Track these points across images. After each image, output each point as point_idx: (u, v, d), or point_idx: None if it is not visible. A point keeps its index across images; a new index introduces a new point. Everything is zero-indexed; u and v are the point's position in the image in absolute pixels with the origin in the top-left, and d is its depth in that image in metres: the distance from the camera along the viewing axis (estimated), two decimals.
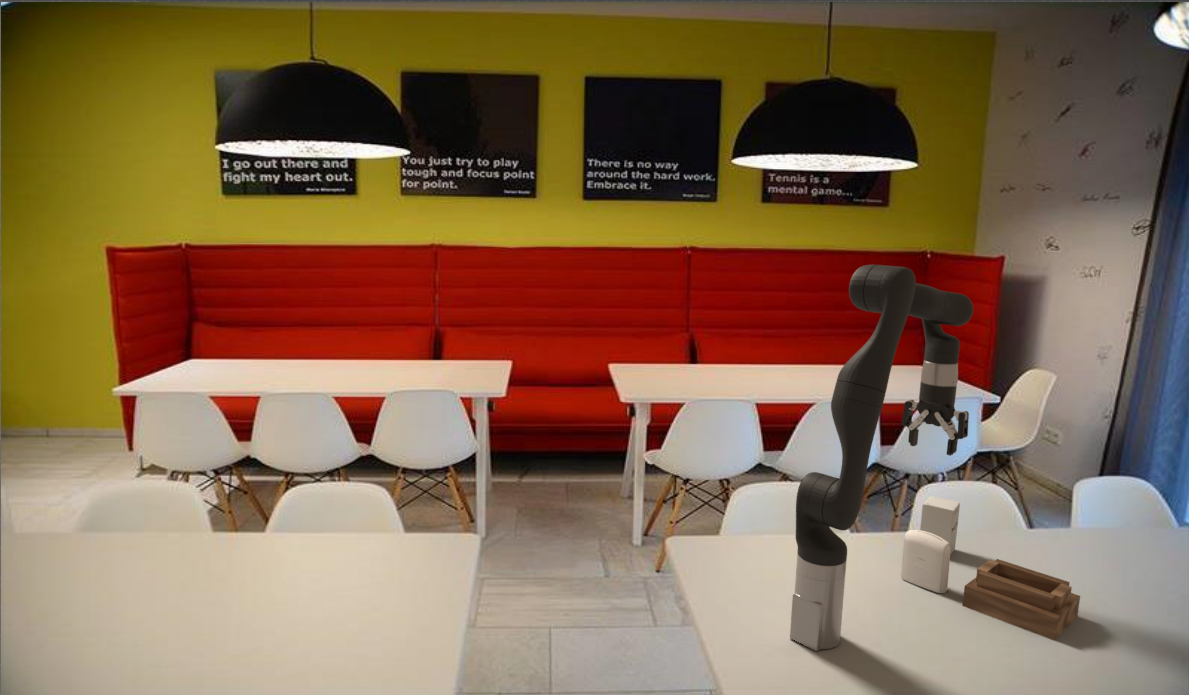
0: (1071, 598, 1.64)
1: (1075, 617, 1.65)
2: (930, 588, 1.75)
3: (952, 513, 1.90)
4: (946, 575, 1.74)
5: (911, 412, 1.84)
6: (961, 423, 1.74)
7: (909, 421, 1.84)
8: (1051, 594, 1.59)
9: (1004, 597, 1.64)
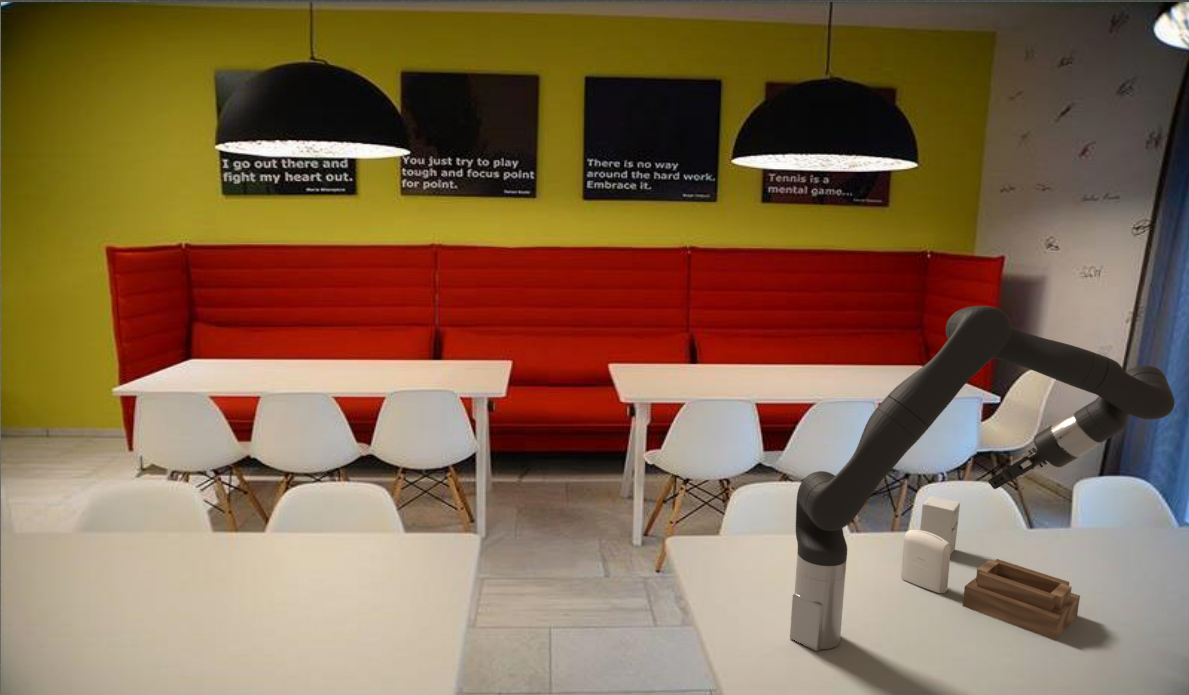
0: (1071, 598, 1.64)
1: (1075, 617, 1.65)
2: (930, 588, 1.75)
3: (952, 513, 1.90)
4: (946, 575, 1.74)
5: None
6: (1016, 462, 1.55)
7: None
8: (1051, 594, 1.59)
9: (1005, 597, 1.64)
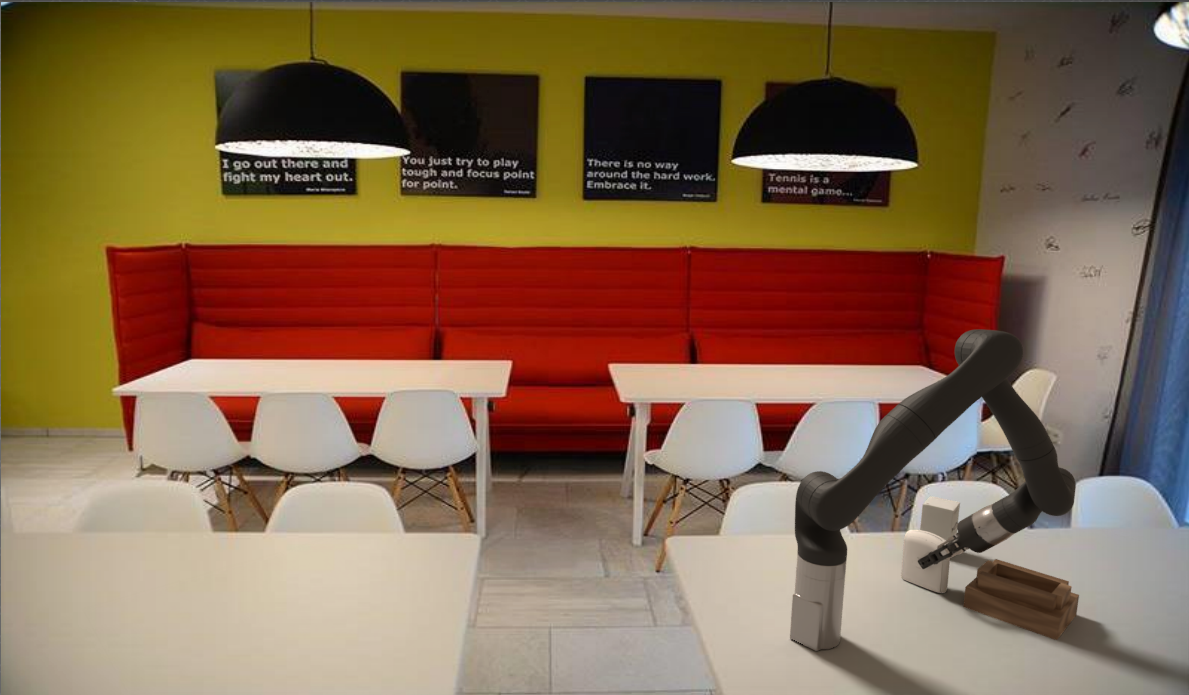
0: (1071, 597, 1.64)
1: (1074, 616, 1.65)
2: (930, 588, 1.75)
3: (952, 513, 1.90)
4: (946, 575, 1.74)
5: None
6: (937, 548, 1.69)
7: None
8: (1052, 594, 1.59)
9: (1006, 598, 1.64)
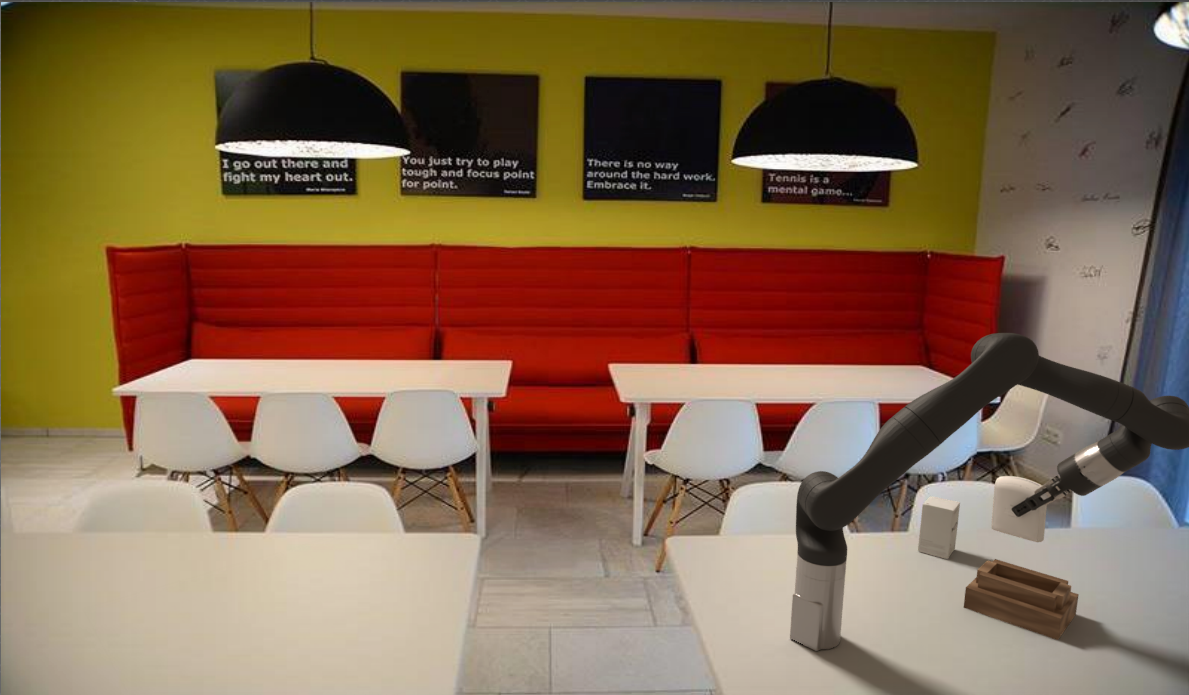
0: (1070, 597, 1.64)
1: (1074, 615, 1.66)
2: (1025, 537, 1.63)
3: (952, 513, 1.90)
4: (1044, 522, 1.62)
5: None
6: (1037, 493, 1.57)
7: None
8: (1053, 594, 1.59)
9: (1006, 598, 1.63)
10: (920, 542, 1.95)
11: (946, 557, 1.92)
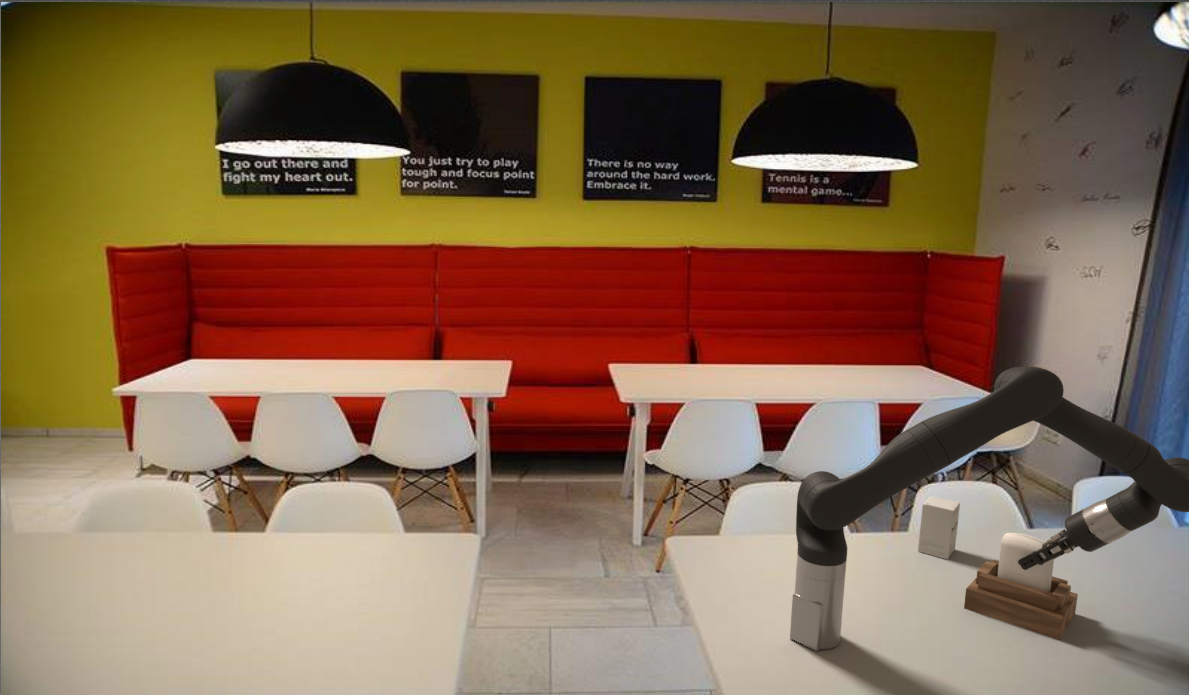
0: (1070, 597, 1.65)
1: (1073, 615, 1.66)
2: None
3: (952, 513, 1.90)
4: (1050, 581, 1.62)
5: None
6: (1046, 547, 1.56)
7: None
8: (1053, 594, 1.59)
9: (1007, 599, 1.63)
10: (920, 542, 1.95)
11: (946, 557, 1.92)
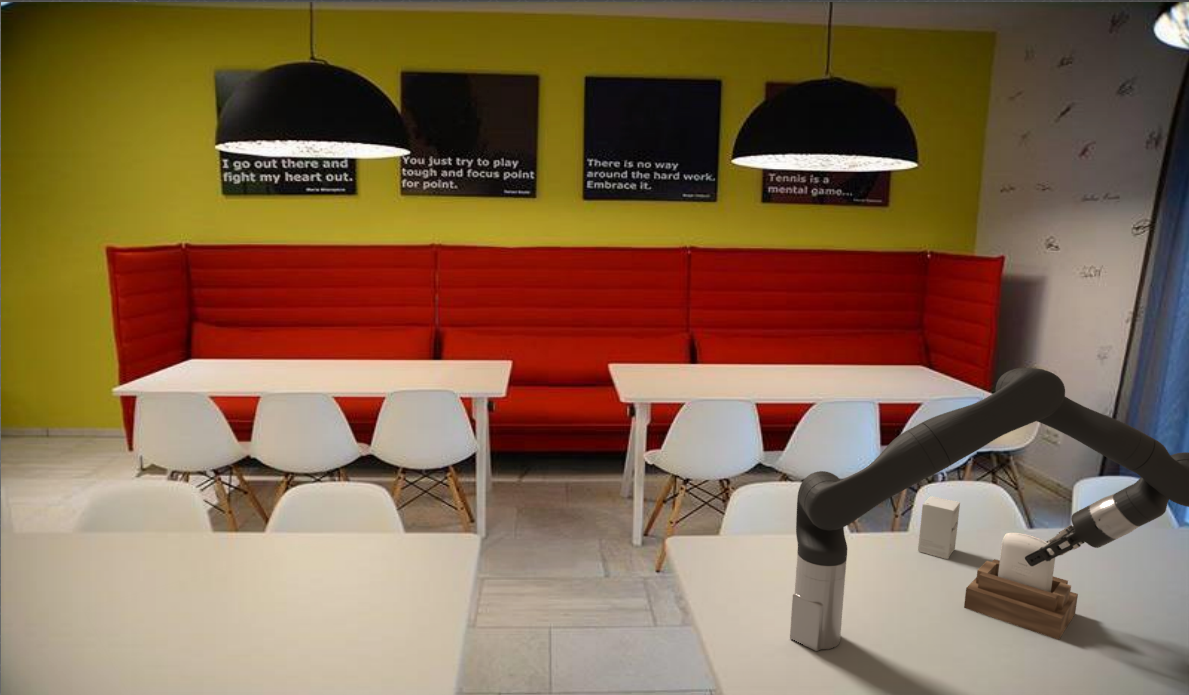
0: (1070, 596, 1.65)
1: (1073, 615, 1.66)
2: None
3: (952, 513, 1.90)
4: (1051, 581, 1.62)
5: None
6: (1054, 542, 1.55)
7: None
8: (1053, 594, 1.60)
9: (1007, 598, 1.63)
10: (920, 542, 1.95)
11: (946, 557, 1.92)
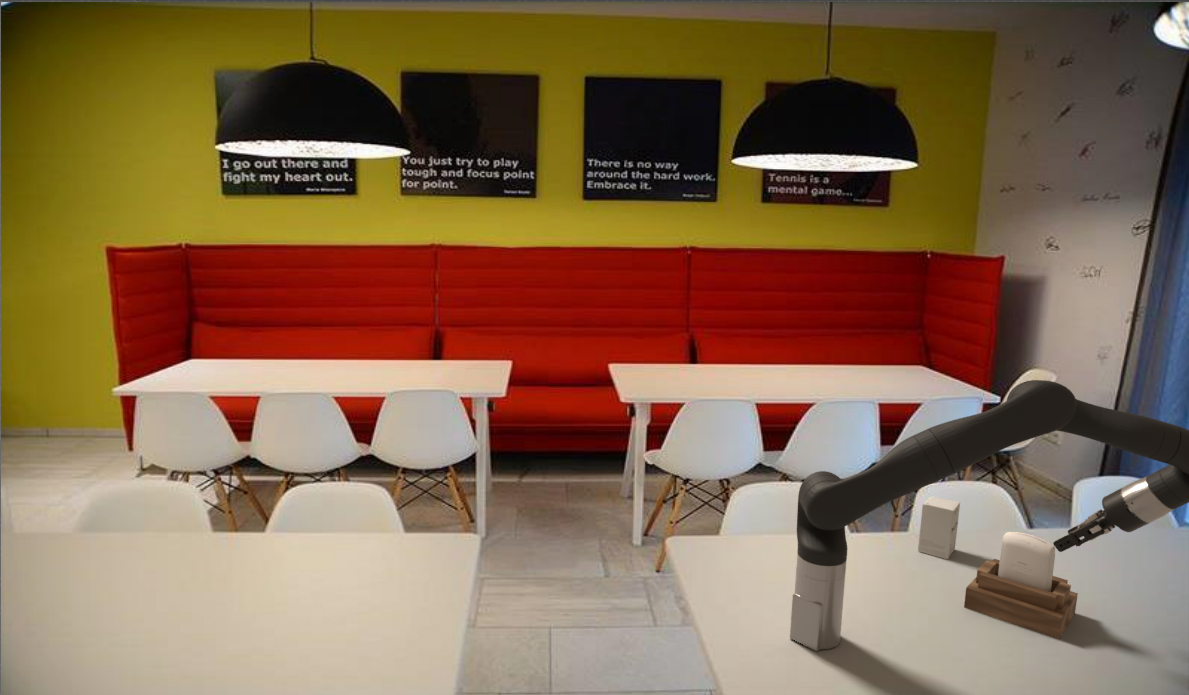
0: (1070, 596, 1.65)
1: (1073, 614, 1.66)
2: None
3: (952, 513, 1.90)
4: (1051, 580, 1.62)
5: None
6: (1084, 526, 1.51)
7: None
8: (1053, 593, 1.60)
9: (1007, 598, 1.64)
10: (920, 542, 1.95)
11: (946, 557, 1.92)
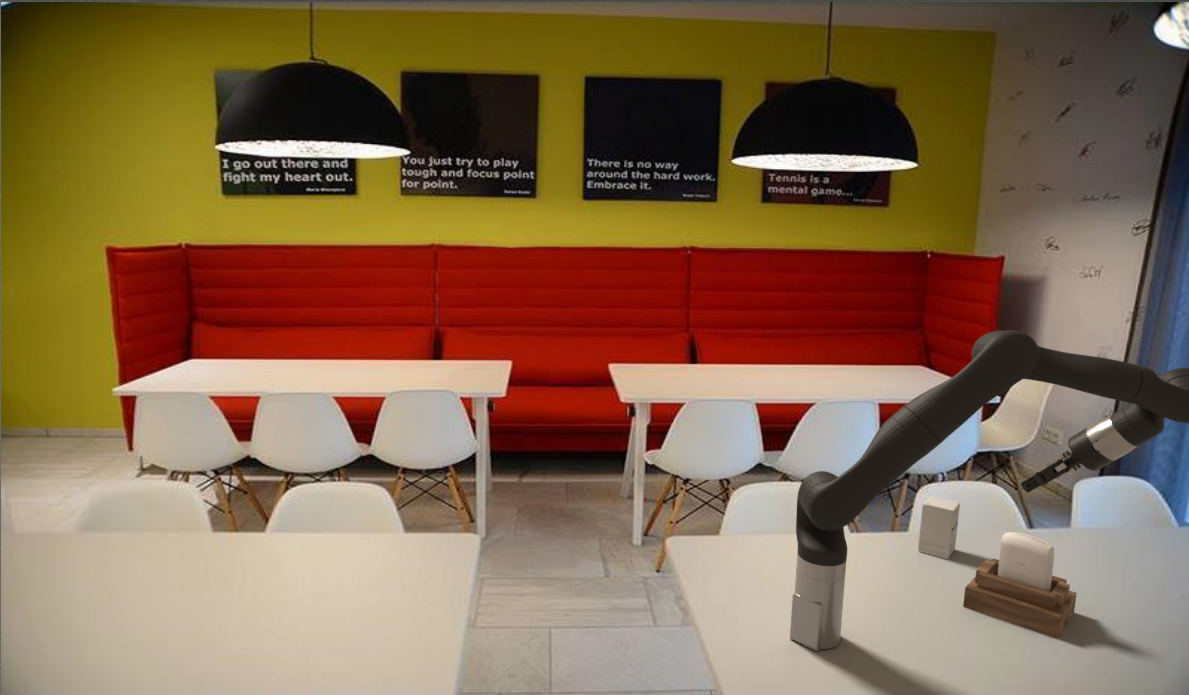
0: (1069, 595, 1.65)
1: (1072, 614, 1.66)
2: None
3: (952, 513, 1.90)
4: (1050, 580, 1.62)
5: None
6: (1050, 465, 1.53)
7: None
8: (1052, 593, 1.60)
9: (1006, 598, 1.64)
10: (920, 542, 1.95)
11: (946, 557, 1.92)
